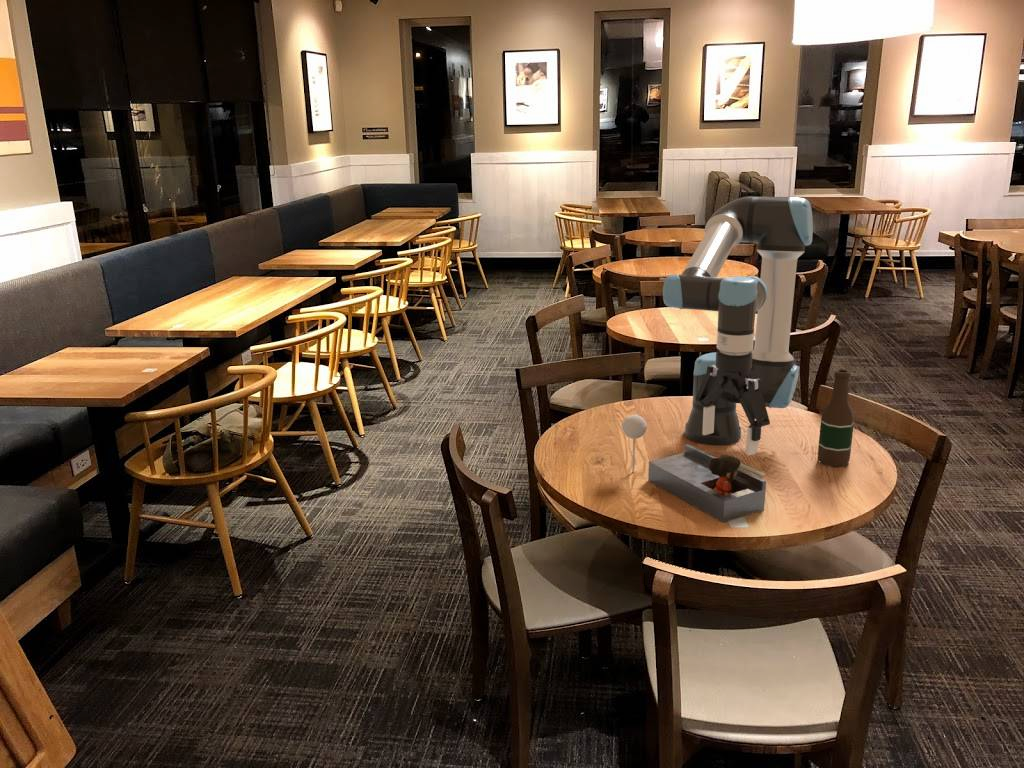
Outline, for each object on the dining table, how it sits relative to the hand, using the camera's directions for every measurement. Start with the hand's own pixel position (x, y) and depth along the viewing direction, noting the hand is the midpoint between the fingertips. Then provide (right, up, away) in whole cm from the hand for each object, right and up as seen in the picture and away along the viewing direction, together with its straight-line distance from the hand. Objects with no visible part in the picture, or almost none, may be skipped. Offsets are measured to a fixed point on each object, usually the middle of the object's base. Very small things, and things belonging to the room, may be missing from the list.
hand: (729, 443), depth 180 cm
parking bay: (+6, -9, +21) cm, 24 cm away
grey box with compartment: (-3, -13, +10) cm, 16 cm away
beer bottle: (+34, -7, +27) cm, 44 cm away
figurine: (0, -15, +4) cm, 15 cm away
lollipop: (-18, -9, +23) cm, 31 cm away
